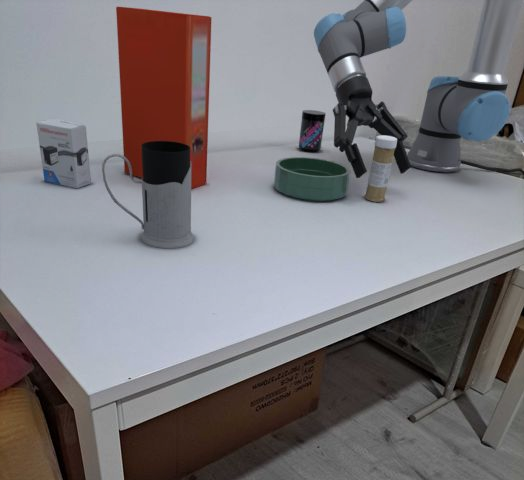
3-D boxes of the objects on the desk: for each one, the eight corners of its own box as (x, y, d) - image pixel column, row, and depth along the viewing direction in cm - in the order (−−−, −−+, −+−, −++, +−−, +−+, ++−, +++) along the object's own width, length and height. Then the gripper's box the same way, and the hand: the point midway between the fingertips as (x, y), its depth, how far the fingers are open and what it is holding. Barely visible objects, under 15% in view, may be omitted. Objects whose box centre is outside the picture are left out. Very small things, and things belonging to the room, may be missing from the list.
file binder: (148, 167, 125) (143, 8, 108) (207, 183, 118) (211, 16, 101) (124, 174, 119) (114, 6, 102) (184, 191, 112) (185, 14, 95)
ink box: (43, 181, 109) (34, 121, 103) (59, 176, 113) (51, 118, 107) (77, 189, 107) (70, 128, 101) (92, 183, 111) (86, 124, 105)
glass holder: (197, 247, 87) (199, 153, 79) (109, 250, 83) (101, 152, 75) (188, 228, 94) (189, 140, 86) (106, 230, 90) (98, 138, 82)
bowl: (326, 180, 129) (330, 157, 126) (358, 201, 116) (363, 176, 113) (263, 181, 124) (265, 157, 121) (289, 203, 111) (292, 177, 108)
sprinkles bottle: (373, 195, 121) (385, 134, 114) (388, 201, 119) (402, 138, 111) (360, 197, 119) (371, 135, 112) (375, 203, 116) (388, 139, 109)
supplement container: (293, 149, 155) (297, 111, 149) (305, 146, 160) (310, 109, 154) (312, 154, 152) (317, 115, 146) (324, 150, 156) (330, 113, 151)
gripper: (379, 96, 125) (411, 177, 124) (297, 96, 113) (331, 186, 111) (401, 74, 119) (434, 159, 117) (316, 72, 106) (352, 167, 105)
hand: (384, 172), depth 114 cm, fingers open, 13 cm apart
